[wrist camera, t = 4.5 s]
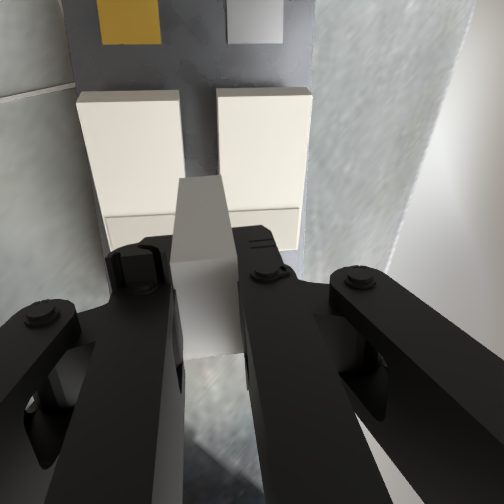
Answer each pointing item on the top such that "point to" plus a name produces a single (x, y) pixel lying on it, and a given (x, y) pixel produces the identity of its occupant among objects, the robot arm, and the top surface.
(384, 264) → the top surface
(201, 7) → the switch unit
